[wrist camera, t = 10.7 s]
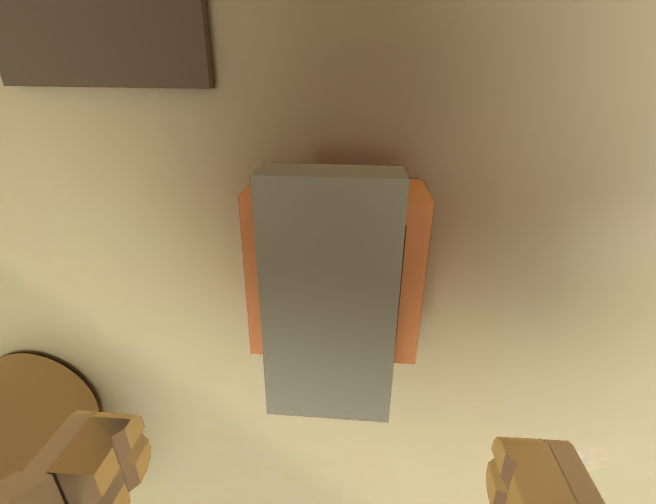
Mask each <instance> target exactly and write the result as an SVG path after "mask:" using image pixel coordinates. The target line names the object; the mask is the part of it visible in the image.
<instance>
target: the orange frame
mask: <svg viewBox="0 0 656 504" xmlns="http://www.w3.org/2000/svg"><path fill="white" fill-rule="evenodd" d="M238 201H239V213H240V225H241V238H242V250H243V263H244V275H245V288H246V300H247V312H248V325H249V337H250V350H251V354H263V349H262V335H261V321H260V306H259V292H258V278H257V264H256V250H255V236H254V222H253V208H252V194H251V184H250V185H249V186H248V187H247V188H246V189H245V190H244V191H243V192H242V193H241V194H240V195H239V196H238ZM433 209H434V201H433V199H432V197H431V195H430V194H429V192H428V190H427V188H426V186H425V184H424V182H423V180H422V179H410V181H409V192H408V204H407V215H406V226H405V238H404V249H403V261H402V272H401V284H400V295H399V307H398V318H397V330H396V341H395V353H394V363H407V364H415V361H416V352H417V344H418V335H419V327H420V318H421V310H422V302H423V293H424V285H425V276H426V268H427V260H428V251H429V243H430V234H431V226H432V218H433Z"/></svg>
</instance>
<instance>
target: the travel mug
mask: <svg viewBox="0 0 656 504" xmlns="http://www.w3.org/2000/svg"><path fill="white" fill-rule="evenodd" d="M77 410H80V411H93V412H99V408H98V404H97V401H96V399H95V397H94V395H93V393H92V392H91V390H90V389H89V387H88V386H87V385H86V384H85V382H84V381H83V380H82V379H81V378H80V377H78V376H77V375H76V374H75V373H74V372H72V371H71V370H70V369H68V368H66V367H65V366H63V365H61V364H60V363H58V362H55V361H53V360H51V359H48V358H45V357H42V356H38V355H34V354H26V353H17V354H10V355H6V356H3V357H1V358H0V480H2V479H4V478H5V477H7V476H9V475H10V474H12V473H14V472H15V471H19V472H22V471H23V470H24V469H25V468H26V466H27V465H28V464H29V463H30V462H31V461H32V459H33V458H34V457H35V456H36V455H37V453H38V452H39V451H40V450H41V449H42V447H43V446H44V445H45V444H46V443H47V442H48V440H49V439H50V438H51V437H52V436H53V434H54V433H55V432H56V431H57V430H58V428H59V427H60V426H61V425H62V424H63V423H64V421H65V420H66V419H67V418H68V417H69V416H70V415H71V414H72V413H74V412H76V411H77Z"/></svg>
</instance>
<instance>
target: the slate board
mask: <svg viewBox="0 0 656 504" xmlns="http://www.w3.org/2000/svg"><path fill="white" fill-rule="evenodd" d="M250 180H251V194H252V208H253V222H254V236H255V250H256V264H257V278H258V292H259V306H260V321H261V335H262V349H263V363H264V377H265V391H266V405H267V414H276V415H290V416H304V417H318V418H332V419H346V420H360V421H374V422H388V421H389V410H390V398H391V387H392V375H393V364H394V353H395V341H396V330H397V318H398V307H399V295H400V284H401V272H402V261H403V249H404V238H405V226H406V215H407V204H408V192H409V181H410V179H409V176H408V174H407V172H406V169H405V167H404V166H388V165H345V164H303V163H264V164H262V165H261V166H260V167H259V168H258V169H257V170H255V171H254V172H253V173H252V174H251V175H250Z"/></svg>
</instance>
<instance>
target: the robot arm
mask: <svg viewBox="0 0 656 504" xmlns="http://www.w3.org/2000/svg"><path fill="white" fill-rule="evenodd" d="M144 427H145V425H144V422H143V419H142V416H138V415H129V414H118V413H107V412H93V411H80V410H77V411H76V412H74V413H72V414H71V415H70V416H69V417H68V418H67V419H66V420H65V421H64V423H63V424H62V425H61V426H60V427H59V428H58V430H57V431H56V432H55V433H54V434H53V436H52V437H51V438H50V439H49V440H48V442H47V443H46V444H45V445H44V446H43V447H42V449H41V450H40V451H39V452H38V453H37V455H36V456H35V457H34V458H33V459H32V461H31V462H30V463H29V464H28V465H27V466H26V468H25V469H24V470H23V471H22V472H19V471H15V472H14V473H12V474H10V475H9V476H7V477H5V478H4V479H2V480H0V504H130V502H131V500H130V493H129V492H130V491H131V490H132V489H134V488H135V487H136V486H137V485H139V484H140V483H141V482H142V480H143V478H144V476H145V474H146V472H147V469H148V465H149V461H150V458H151V447H150V443H149V440H148V439H147V438H146V437H145V436H144V435H143V434H142V433H141V432H142V431H143V429H144ZM491 449H492V452H493V455H494V459H492V460H491V461H490V462H488V466H487V472H486V487H487V492H488V498H489V502H490V504H605V502H604V500H603V498H602V497H601V495H600V493H599V491H598V489H597V488H596V486H595V484H594V482H593V480H592V479H591V477H590V475H589V473H588V471H587V470H586V468H585V466H584V464H583V462H582V461H581V459H580V457H579V455H578V453H577V451H576V450H575V448H574V446H573V445H572V444H571V443H570V442H569V441H562V440H545V439H544V440H542V439H532V438H511V437H496V438H495V439H494V440H493V444H492V448H491Z"/></svg>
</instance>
